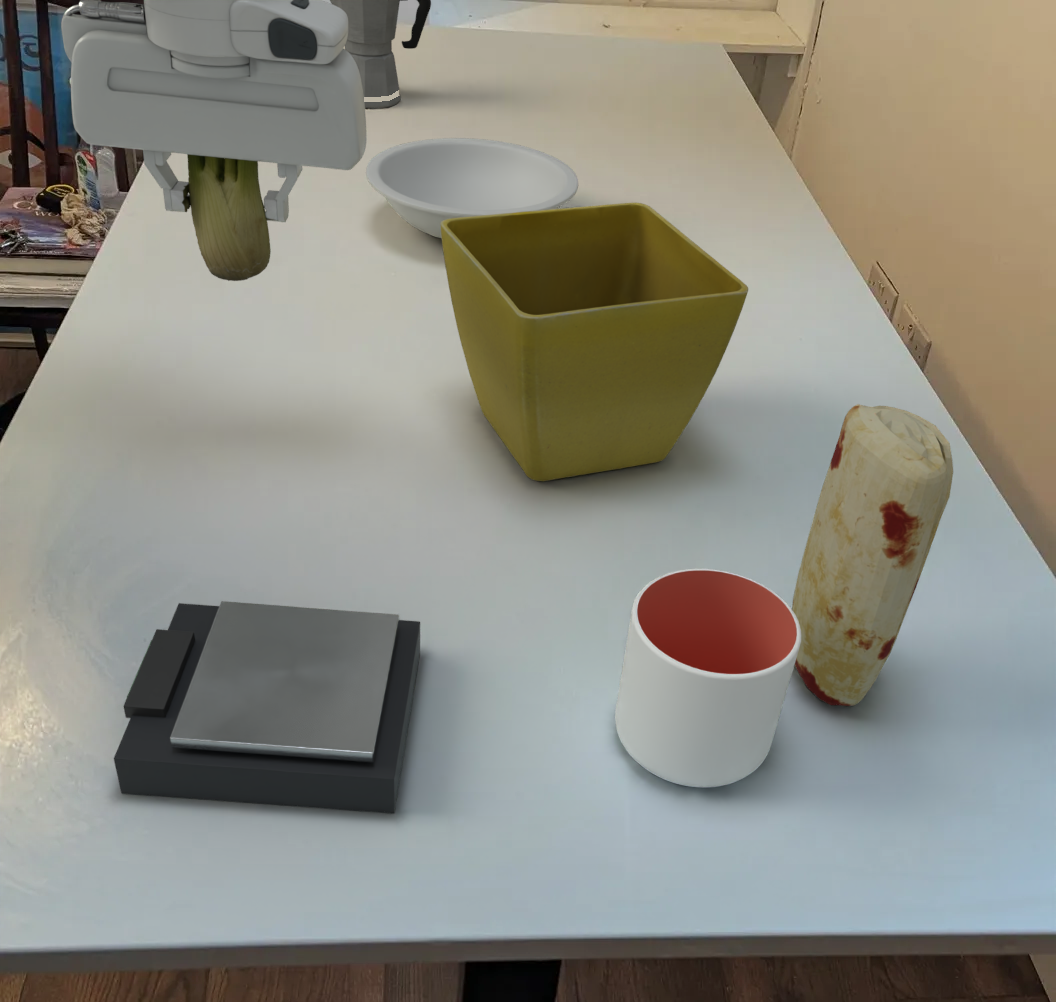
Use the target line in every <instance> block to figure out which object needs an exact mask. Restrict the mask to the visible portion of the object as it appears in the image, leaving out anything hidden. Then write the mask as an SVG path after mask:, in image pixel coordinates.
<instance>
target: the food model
mask: <svg viewBox="0 0 1056 1002" xmlns="http://www.w3.org/2000/svg"><path fill="white" fill-rule="evenodd" d="M951 449H952V448H951V443H950V441H948V439H947V438H946V437H945V435H944V434H943V432H941V431H940V428H938V426H936V424H934V423H932V422H931V421H929V420H928V419H925V418H924V417H921V416H920V415H917V414H915V413H912V412H910V411H908V410H905V409H901V408H898V407H897V408H896V407H893V406H888V405H875V406H867V405H863V404H859V403H857V404H855V405H853V406H852V407H851V408H850V409H849V410H848V411H847V413H846V414H845V416H844V419H843V422H842V425H841V429H840V432H839V435H838V438H837V442H836V445H835V448H834V451H833V454H832V457H831V460H830V463H829V466H828V469H827V473H826V475H825V478H824V481H823V484H822V487H821V490H820V493H819V497H818V500H817V503H816V508H815V511H814V514H813V518H812V522H811V526H810V530H809V533H808V537H807V540H806V544H805V548H804V550H803V555H802V558H801V563H800V567H799V570H798V573H797V578H796V583H795V586H794V592H793V597H792V604H791V605H792V606H791V609H792V610H793V612H794V613H795V615H796V617H797V619H798V621H799V625H800V629H801V644H800V647H799V651H798V654H797V658H796V661H795V665H794V667H795V669H796V671H797V672H798V675H799V676H800V679H801V680H802V681H803V683H804V685H805V687H806V689H808V690H809V691H810V692H811V693H812V694H813V695H814V696H815V697H817V698H818V700H820V701H822V702H824V703H825V704H827V705H829V706H844V707H851V706H856V705H857V704H859V703H861V701H863V700H864V698H865V696H866V695H867V694H868V692H870V690H871V688H872V687H873V686H874V684H875V682H876V681H877V679H878V677H879V675H880V673H881V672H882V670H883V668H884V666H885V663H886V662H887V660H888V658H889V657H890V654H891V652H892V650H893V648H894V646H895V643H896V642H897V638H898V636H899V634H900V630H901V628H902V625H903V623H904V620H905V617H906V614H907V612H908V609H909V607H910V604H911V602H912V599H913V596H914V594H915V591H916V590H917V586H918V583H919V580H920V578H921V575H922V572H923V570H924V566H925V564H926V561H927V559H928V555H929V553H930V550H931V547H932V545H933V542H934V539H935V536H936V534H937V531H938V528H939V525H940V522H941V519H942V517H943V514H944V512H945V509H946V507H947V505H948V502H949V499H950V497H951V490H952V483H953V475H954V461H953V455H952V450H951Z"/></svg>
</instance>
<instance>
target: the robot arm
mask: <svg viewBox="0 0 1056 1002" xmlns="http://www.w3.org/2000/svg"><path fill="white" fill-rule="evenodd" d="M78 12H79V13H80V14H75V13H78ZM60 22H61V24H60V27H61V28H60V29H61V36H62V41H63V48H64V52H65V54H66V56H67V58H68V59H69V61H70V62H71V65H70V100H71V101H70V102H71V114H72V115H71V116H72V124H73V128H74V130H75V132H76V133H77V134H78V135H79V136H80V138H81V139H82V140H83V141H84V142H85V143H86V144H88V145H92V146H101V147H111V148H122V149H131V150H139V151H140V150H142V155H143V164H144V166H145V167H146V169H147V170H148V171H149V173H150V174H151V176H152V177H153V179H154V180H155V182H156V183H157V185H158V186H159V188H160V189H162V193H163V201H164V209H165V211H166V212H177V213H179V212H180V213H187V212H188V210H190V209H191V205H190V197H189V183H188V181H183V180H179V179H178V178H177V175H176V174H175V173H174V171H173V170H172V167H171V166H170V164H169V163H168V160H169V158H170V157H171V156H172V154H181V155H187V154H190V155H200V156H210V157H220V158H229V159H239V160H249V161H258V163H259V162H262V163H270V164H271V163H272V164H276V165H277V177H279V178H281V179H285V180H284V182H283V183H282V184H281V186H280V189H279V190H273V189H272V190H271V189H269V190H267V192H266V195H265V196H264V198H263V205H264V209H265V218H266V220H267V222H275V223H276V222H277V223H286V222H287V221H288V218H289V213H290V207H289V206H290V205H289V204H290V203H289V195H290V193H291V191H292V190H293V188H294V186H295V185H296V182H297V181H298V179H299V177H300V175H301V174H302V172H303V167H308V168H309V167H311V168H320V169H329V170H330V169H332V170H340V171H350V170H353V168H354V167H355V166H356V165H358V164H359V162H360V161H361V160H362V158H363V157H364V154H365V151H366V148H367V117H366V108H365V104H364V96H363V89H362V83H361V77H360V73H359V70H358V67H357V64H356V62H355V60H354V59H353V57H352V56H351V55H350V54H349V52H347V51H346V50H345V44H346V41H347V37H348V17H347V14H346V13H345V12H344V11H343V10H342V9H341V8H339V7H337V6H335V5H333V4H331V2H328V1H326V0H143V3H133V2H123V1H122V2H121V1H120V2H117V1H116V2H110V1H102V0H79V2H78V4H74V5H72V6H70V7H68V8H67V9H66V11H64V13H63V14H62V18H61V21H60Z"/></svg>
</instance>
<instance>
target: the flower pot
mask: <svg viewBox="0 0 1056 1002" xmlns="http://www.w3.org/2000/svg"><path fill="white" fill-rule="evenodd" d="M440 224H441V237H442V239H441V246H442V251H443V252H442V253H443V258H444V259H443V260H444V266H445V272H446V278H447V284H448V289H449V295H450V299H451V306H452V310H453V315H454V320H455V323H456V328H457V332H458V337H459V341H460V344H461V348H462V352H463V355H464V359H465V362H466V366H467V370H468V373H469V376H470V379H471V383H472V386H473V390H474V393H475V396H476V399H477V401H478V404H479V407H480V411H481V412H482V414H483V416H484V417H485V419H486V420H487V421H488V422H489V424H490V426H491V427H492V429H493V430H494V432H495V433H496V434H497V436H498V437H499V438H500V441H501V442H502V443H503V444H504V446H505V447H506V448H507V450H508V451H509V453H510V454H511V455H512V457H513V458H514V460H515V462H516V463H517V464H518V465H519V467H520V469H521V470H522V471H523V473H524V474H525V475H526V477H527V478H528V479H530V480H532V481H536V482H546V481H547V482H548V481H552V480H558V479H564V478H570V477H577V476H582V475H583V476H584V475H588V474H595V473H601V472H607V471H612V470H619V469H625V468H630V467H635V466H643V465H648V464H654V463H659V462H662V461H664V460H665V459H666V458H667V456H668V454H669V453H670V452H671V451H672V449H673V447H674V446H675V445H676V443H677V442H678V440H679V438H680V437H681V435H682V433H683V432H684V430H685V429H686V428H687V426H688V424H689V422H690V421H691V419H692V418H693V416H694V414H695V412H696V410H697V409H698V407H699V406H700V404H701V402H702V400H703V398H704V397H705V395H706V393H707V391H708V389H709V387H710V385H711V383H712V381H713V379H714V377H715V375H716V373H717V371H718V368H719V366H720V364H721V362H722V359H723V358H724V355H725V353H726V351H727V349H728V347H729V344H730V341H731V338H732V336H733V334H734V332H735V329H736V326H737V324H738V321H739V318H740V316H741V314H742V311H743V308H744V305H745V301H746V299H747V296H748V292H749V286H748V285H747V284H745V282H743V280H741V279H740V278H738V277H737V276H736V275H735V274H734V273H732V271H729V270H728V269H727V267H725V266H723V264H721V263H720V262H718V260H716V259H715V258H714V257H713V256H712V255H710V254H709V253H708V252H707V251H706V250H704V249H703V248H702V247H700V246H699V245H698V244H697V243H696V242H694V241H693V240H691V239H690V238H689V237H688V236H687V235H685V233H683V232H682V231H681V230H680V229H678V228H677V227H676V226H675V225H674V224H672V223H671V222H670V221H669V220H667V218H665V217H664V216H662V215H661V214H660V213H659V212H657V211H656V210H655V209H654V208H653V207H651V206H650V205H648V204H645V203H642V202H622V203H610V204H609V203H608V204H597V205H586V206H575V207H574V206H573V207H563V208H561V207H560V208H557V209H548V210H536V211H525V212H515V213H503V214H492V215H481V216H470V217H459V218H450V219H446V220H443V221H442V222H441V223H440Z"/></svg>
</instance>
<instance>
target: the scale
mask: <svg viewBox="0 0 1056 1002" xmlns="http://www.w3.org/2000/svg"><path fill="white" fill-rule="evenodd" d="M219 606H220V605H207V604H196V603H180V602H178V604H177V606H176V609H175V611H174V614H173V616H172V618H171V621H170V623H169V626H168V628H167V629H160V628H156V629H155V632H154V634H153V636H152V639H151V640H150V641H149V644H148V646H147V649H146V651H145V653H144V656H143V658H142V661H141V663H140V664H139V667H138V669H137V672H136V674H135V677H134V679H133V681H132V684H131V685H130V688H129V690H128V693H127V695H126V699H125V701H124V704H123V705H122V706H123V710H124V711H123V712H124V717H125V718H126V719H129V721H128V723H127V726H126V728H125V730H124V733H123V735H122V737H121V740H120V742H119V745H118V747H117V748H116V749H117V750H116V752H115V754H114V757H113V762H114V766H115V771H116V776H117V780H118V785H119V789H120V794H123V795H136V796H148V797H149V796H152V797H163V798H164V797H165V798H176V799H177V798H178V799H191V800H204V801H205V800H206V801H218V802H233V803H243V804H244V803H245V804H259V805H260V804H261V805H272V806H287V807H300V808H312V809H313V808H315V809H327V810H339V811H340V810H341V811H353V812H368V813H379V814H380V813H382V814H395V813H396V806H397V799H398V793H399V787H400V781H401V776H402V769H403V763H404V757H405V750H406V745H407V737H408V731H409V726H410V718H411V713H412V707H413V700H414V694H415V688H416V683H417V675H418V670H419V663H420V657H421V621H419V620H407V619H404V620H403V619H399V628H398V633H397V638H396V644H395V649H394V654H393V660H392V665H391V670H390V676H389V681H388V686H387V692H386V697H385V703H384V708H383V713H382V719H381V724H380V729H379V735H378V740H377V745H376V751H375V756H374V761H373V762H360V761H347V760H333V759H320V758H306V757H293V756H279V755H266V754H252V753H239V752H226V751H212V750H199V749H185V748H172V747H171V742H170V736H171V734H172V731H173V728H174V726H175V723H176V720H177V718H178V715H179V712H180V710H181V707H182V704H183V702H184V699H185V696H186V694H187V691H188V688H189V686H190V683H191V680H192V678H193V675H194V672H195V670H196V667H197V664H198V662H199V659H200V656H201V654H202V651H203V649H204V646H205V643H206V641H207V638H208V635H209V633H210V630H211V627H212V625H213V622H214V619H215V617H216V614H217V611H218V609H219Z"/></svg>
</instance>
